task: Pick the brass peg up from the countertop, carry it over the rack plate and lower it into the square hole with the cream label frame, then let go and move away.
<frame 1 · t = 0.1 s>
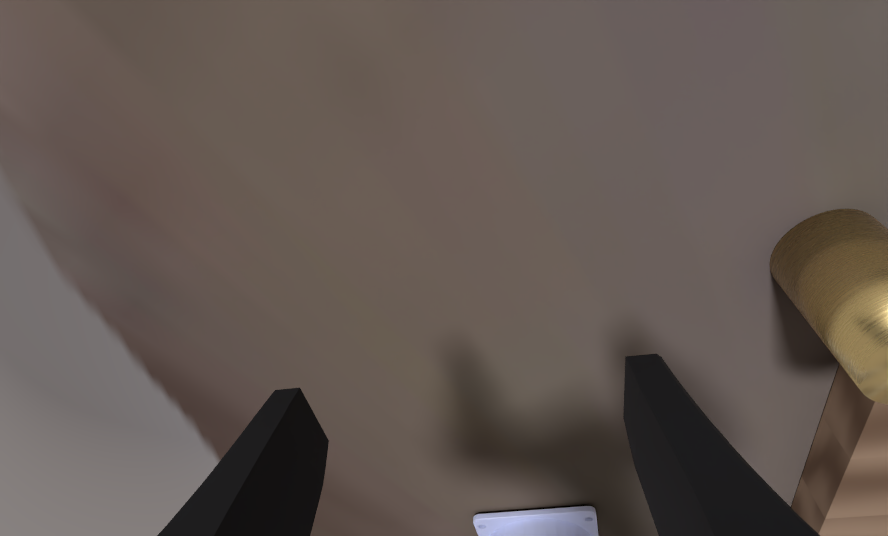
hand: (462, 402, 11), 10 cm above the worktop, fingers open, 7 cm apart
brass peg: (823, 251, 20), on the worktop
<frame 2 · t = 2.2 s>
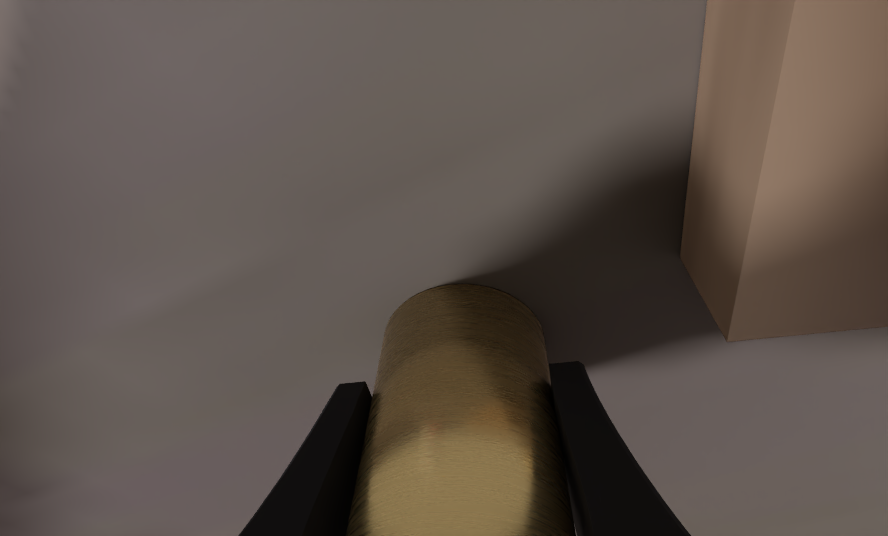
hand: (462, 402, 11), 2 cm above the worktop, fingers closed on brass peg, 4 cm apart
brass peg: (463, 346, 13), on the worktop, touching gripper
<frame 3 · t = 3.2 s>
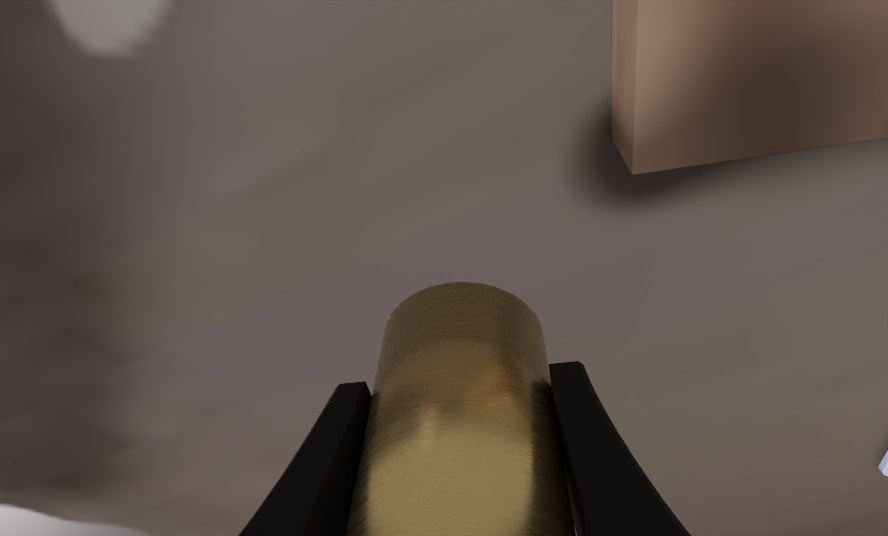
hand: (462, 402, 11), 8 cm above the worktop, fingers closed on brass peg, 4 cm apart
brass peg: (463, 344, 13), point 6 cm above the worktop, touching gripper
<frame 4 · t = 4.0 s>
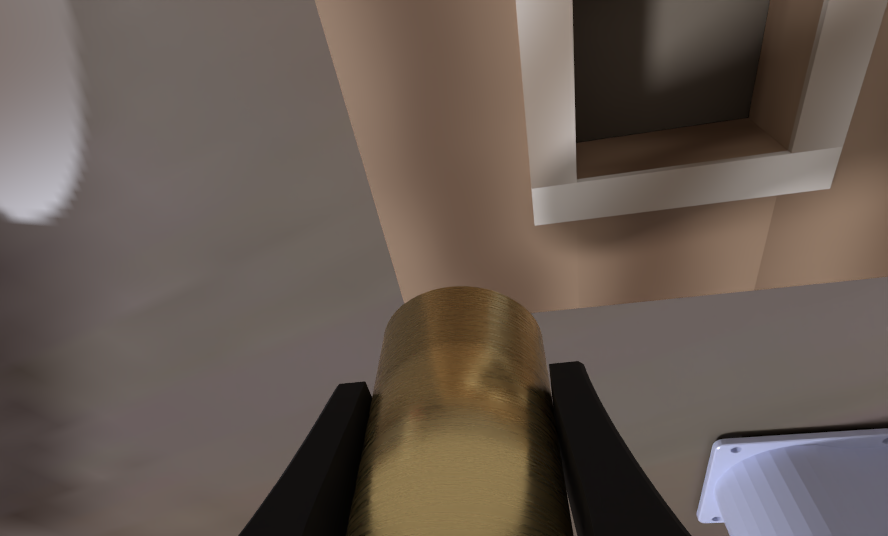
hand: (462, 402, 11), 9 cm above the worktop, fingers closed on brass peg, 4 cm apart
brass peg: (462, 347, 13), point 7 cm above the worktop, touching gripper
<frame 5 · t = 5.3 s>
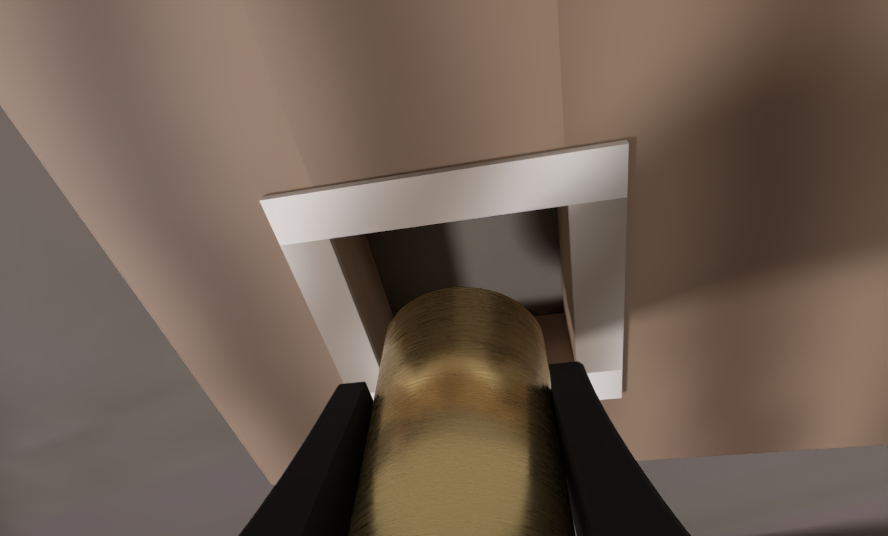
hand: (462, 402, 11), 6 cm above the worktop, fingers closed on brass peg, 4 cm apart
brass peg: (464, 348, 13), point 4 cm above the worktop, touching gripper
rack plate: (523, 189, 14), on the worktop
when the fingers open (3 cm above the worktop, at t = 6.2 s): brass peg drops 2 cm, resting in rack plate.
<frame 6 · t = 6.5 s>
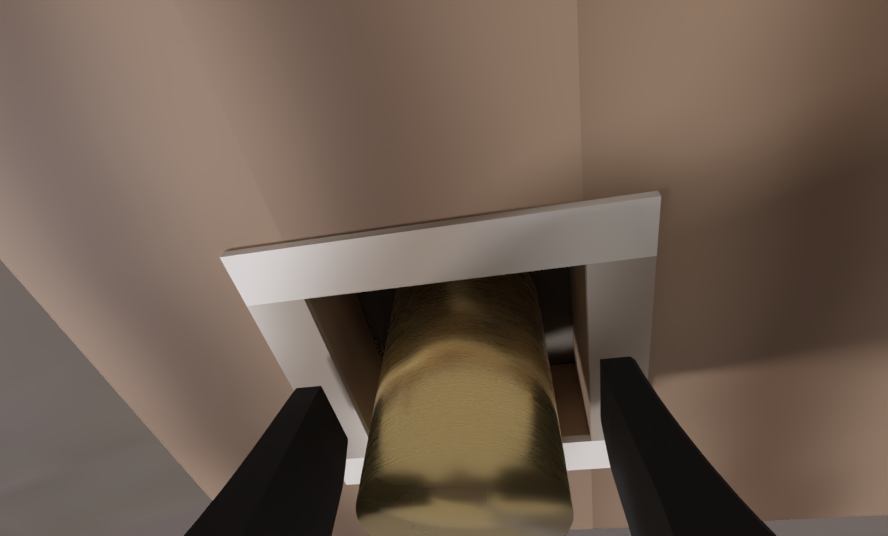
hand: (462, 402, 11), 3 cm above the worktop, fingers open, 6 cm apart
brass peg: (466, 304, 14), resting in rack plate
rack plate: (530, 232, 13), on the worktop
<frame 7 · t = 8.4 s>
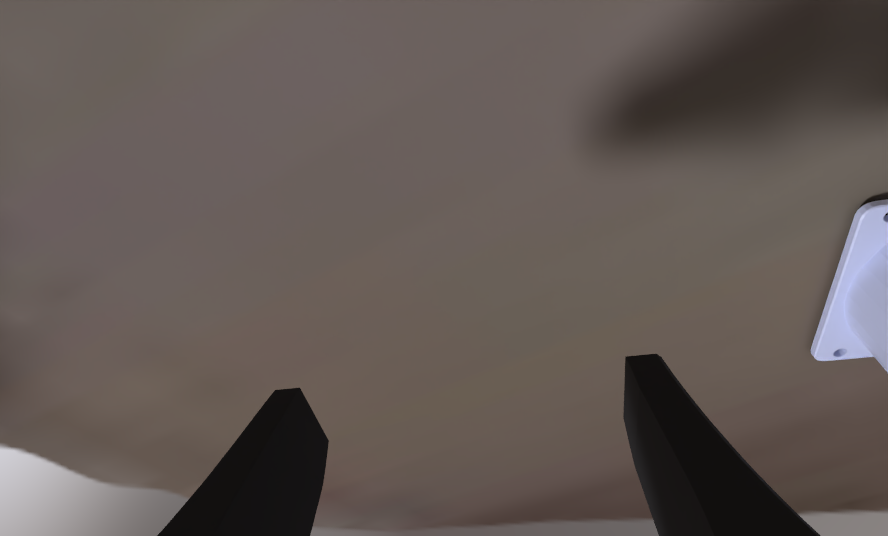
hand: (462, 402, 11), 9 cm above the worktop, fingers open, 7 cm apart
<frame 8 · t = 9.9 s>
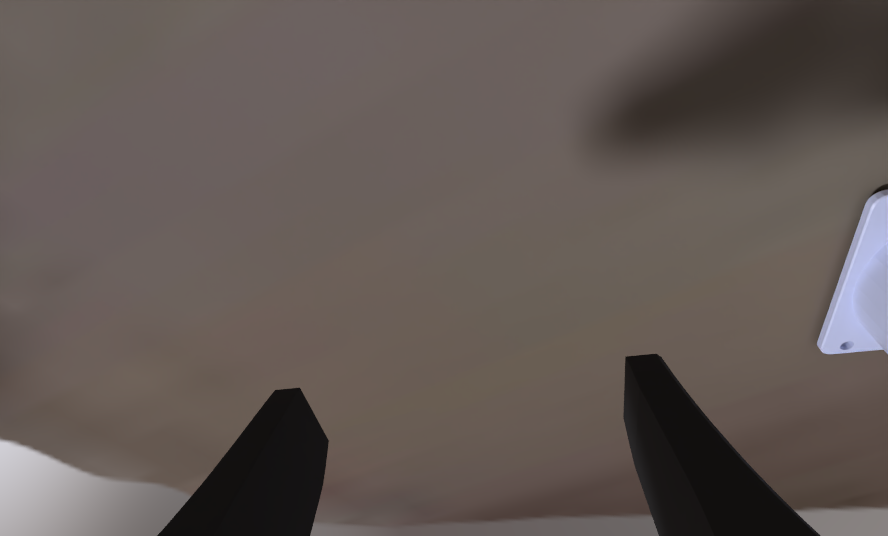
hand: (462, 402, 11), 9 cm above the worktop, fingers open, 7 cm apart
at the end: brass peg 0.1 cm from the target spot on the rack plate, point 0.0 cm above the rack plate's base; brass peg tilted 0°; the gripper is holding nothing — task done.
